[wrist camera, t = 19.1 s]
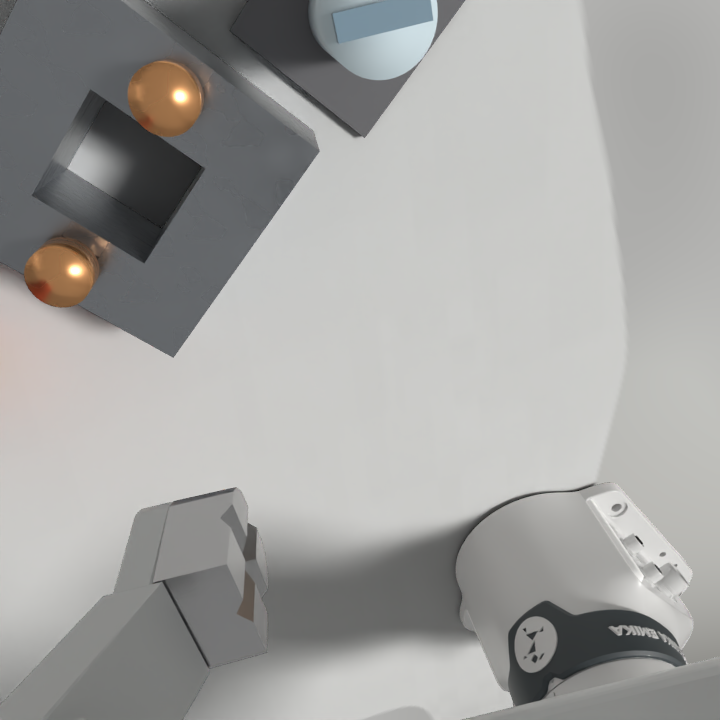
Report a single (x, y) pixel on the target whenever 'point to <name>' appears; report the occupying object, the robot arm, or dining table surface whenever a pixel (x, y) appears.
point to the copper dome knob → (165, 97)
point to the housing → (200, 143)
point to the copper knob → (61, 272)
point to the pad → (321, 59)
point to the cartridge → (374, 33)
